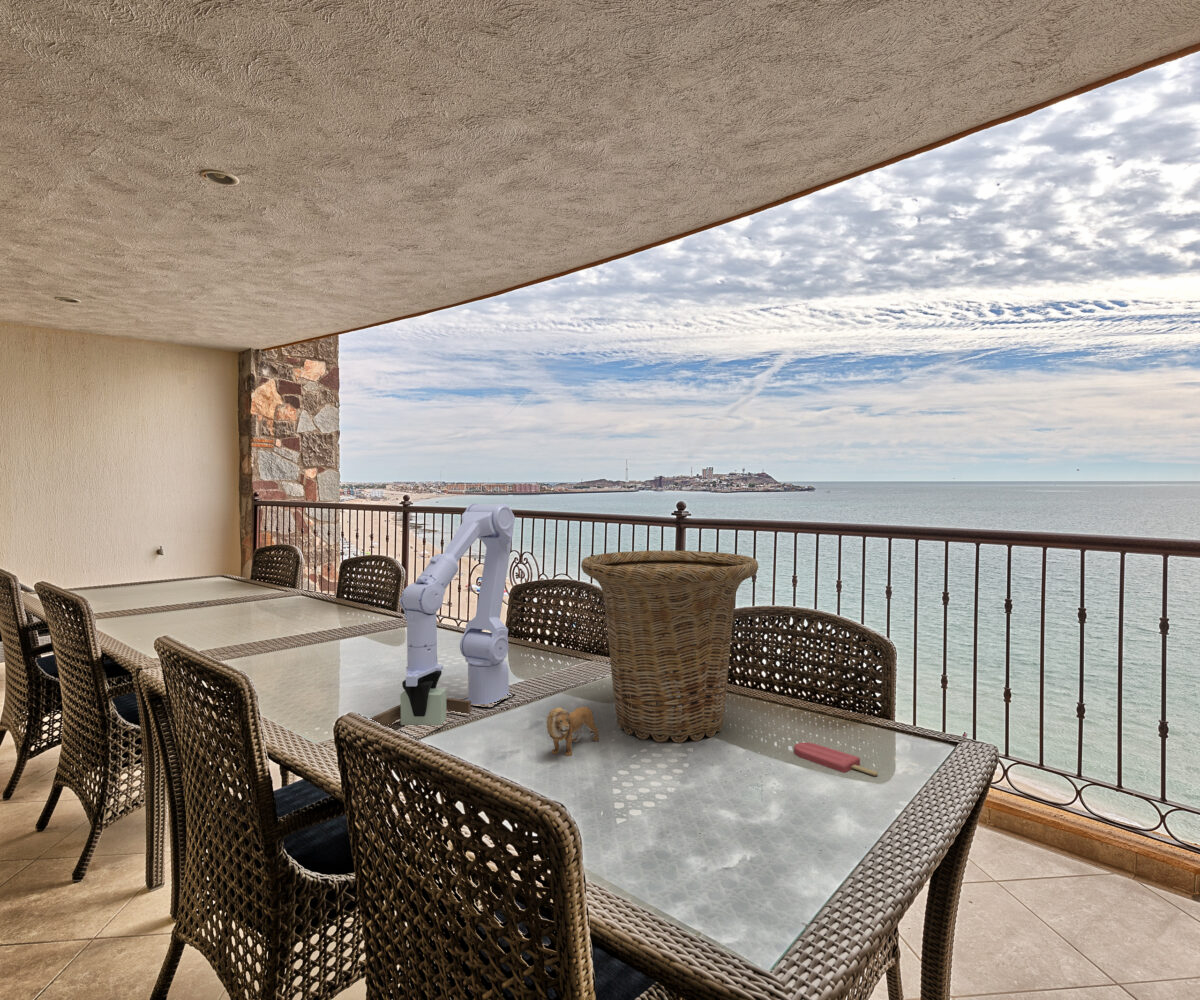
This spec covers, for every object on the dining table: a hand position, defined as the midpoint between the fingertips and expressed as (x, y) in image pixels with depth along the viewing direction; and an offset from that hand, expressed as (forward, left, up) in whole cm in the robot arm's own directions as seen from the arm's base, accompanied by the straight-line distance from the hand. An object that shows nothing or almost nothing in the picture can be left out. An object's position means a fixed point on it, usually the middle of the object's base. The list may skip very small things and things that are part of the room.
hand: (422, 711), depth 132 cm
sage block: (0, 0, -2) cm, 2 cm away
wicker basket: (-20, +45, -3) cm, 49 cm away
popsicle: (-12, +77, -4) cm, 78 cm away
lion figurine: (-1, +32, -3) cm, 33 cm away
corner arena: (-2, -1, -3) cm, 4 cm away
